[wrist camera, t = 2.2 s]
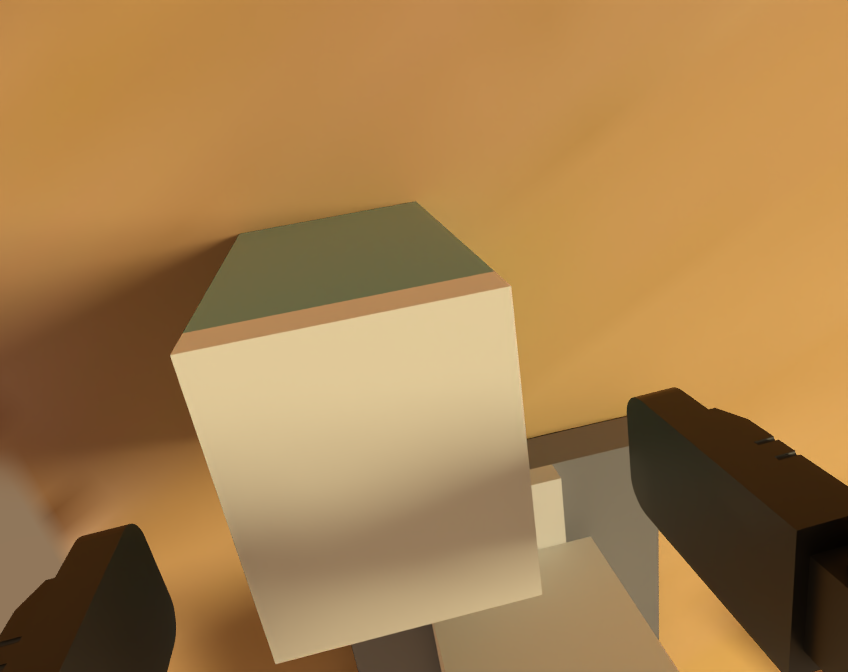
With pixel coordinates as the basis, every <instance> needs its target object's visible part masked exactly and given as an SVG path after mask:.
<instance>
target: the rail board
mask: <svg viewBox="0 0 848 672" xmlns="http://www.w3.org/2000/svg"><path fill="white" fill-rule="evenodd" d="M527 448H528V458H529V468H530V478H531V488H532V498H533V508H534V518H535V528H536V537H537V547H538V557H539V567H540V577H541V587H542V595H539V596H535V597H531V598H528V599H524V600H520V601H516V602H512V603H508V604H505V605H501V606H497V607H493V608H489V609H485V610H482V611H478V612H474V613H470V614H466V615H462V616H459V617H455V618H451V619H447V620H443V621H439V622H436V623H432V624H428V625H424V626H420V627H416V628H413V629H409V630H405V631H401V632H397V633H393V634H390V635H386V636H382V637H378V638H374V639H370V640H367V641H363V642H359V643H355V644H351V646H352V649H353V653H354V657H355V661H356V664H357V668H358V672H679V671H678V669H677V668H676V666H675V665H674V663H673V662H672V660H671V659H670V657H669V656H668V654H667V652H666V651H665V649H664V648H663V646H662V645H661V643H660V642H659V576H658V528H657V527H656V526H655V525H654V523H653V522H652V521H651V520H650V519H649V518H648V516H647V515H646V514H645V513H644V511H643V510H642V508H641V506H640V504H639V502H638V500H637V498H636V495H635V493H634V490H633V486H632V481H631V472H630V456H629V440H628V424H627V416H626V417H622V418H618V419H613V420H609V421H605V422H600V423H596V424H592V425H587V426H583V427H579V428H574V429H570V430H566V431H561V432H557V433H553V434H548V435H544V436H540V437H536V438H531V439H527Z"/></svg>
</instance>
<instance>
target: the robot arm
mask: <svg viewBox="0 0 848 672" xmlns="http://www.w3.org/2000/svg"><path fill="white" fill-rule="evenodd" d="M627 424H628V440H629V456H630V472H631V481H632V486H633V490H634V493H635V495H636V498H637V500H638V502H639V504H640V506H641V508H642V510H643V511H644V513H645V514H646V515H647V516H648V518H649V519H650V520H651V521H652V522H653V523H654V525H655V526H656V527H657V528H658V529H659V530H660V532H661V533H662V534H663V535H664V536H665V537H666V539H667V540H668V541H669V542H670V543H671V544H672V545H673V547H674V548H675V549H676V550H677V551H678V552H679V554H680V555H681V556H682V557H683V558H684V559H685V561H686V562H687V563H688V564H689V565H690V566H691V568H692V569H693V570H694V571H695V572H696V573H697V574H698V576H699V577H700V578H701V579H702V580H703V581H704V583H705V584H706V585H707V586H708V587H709V588H710V590H711V591H712V592H713V593H714V594H715V595H716V597H717V598H718V599H719V600H720V601H721V602H722V603H723V605H724V606H725V607H726V608H727V609H728V610H729V612H730V613H731V614H732V615H733V616H734V617H735V619H736V620H737V621H738V622H739V623H740V624H741V626H742V627H743V628H744V629H745V630H746V631H747V633H748V634H749V635H750V636H751V637H752V638H753V639H754V641H755V642H756V643H757V644H758V645H759V646H760V648H761V649H762V650H763V651H764V652H765V653H766V655H767V656H768V657H769V658H770V659H771V660H772V662H773V663H774V664H775V665H776V666H777V667H778V668H779V670H780V671H781V672H814V671H817V670H820V669H821V670H822V671H823V672H848V486H847V485H845V484H844V483H842V482H841V481H839V480H838V479H836V478H835V477H833V476H832V475H830V474H829V473H827V472H826V471H824V470H823V469H821V468H820V467H818V466H817V465H815V464H814V463H812V462H811V461H809V460H808V459H806V458H805V457H803V456H802V455H796V453H795V450H793V449H792V448H790V447H789V446H787V445H786V444H784V443H783V442H781V441H780V440H776V441H775V440H774V436H772V435H771V434H769V433H768V432H766V431H765V430H763V429H762V428H760V427H759V426H757V425H756V424H754V423H753V422H751V421H750V420H748V419H746V418H743V417H740V416H737V415H734V414H731V413H728V412H725V411H723V410H720V409H717V408H713V409H709V410H708V409H707V408H706V407H704V406H703V405H701V404H700V403H699V402H697V401H696V400H694V399H693V398H692V397H690V396H689V395H687V394H686V393H685V392H683V391H682V390H680V389H678V388H669V389H665V390H661V391H657V392H653V393H649V394H645V395H641V396H638V397H634V398H631V399H630V400H629V402H628V405H627ZM175 636H176V619H175V612H174V607H173V603H172V600H171V597H170V595H169V593H168V590H167V588H166V585H165V583H164V581H163V578H162V576H161V574H160V571H159V569H158V567H157V564H156V562H155V560H154V557H153V555H152V553H151V550H150V548H149V546H148V543H147V541H146V539H145V536H144V534H143V532H142V531H141V529H140V528H139V527H138V526H137V525H135V524H128V525H124V526H120V527H116V528H112V529H108V530H104V531H100V532H97V533H93V534H89V535H85V536H81V537H79V538H78V539H77V540H76V542H75V543H74V545H73V547H72V548H71V550H70V552H69V554H68V555H67V557H66V559H65V561H64V563H63V564H62V566H61V568H60V570H59V571H58V574H57V575H56V577H55V578H53V579H49V580H46V581H45V582H44V583H43V584H42V585H40V586H39V588H38V589H37V590H35V592H34V593H32V594H31V595H30V596H29V597H28V598H27V599H26V600H25V601H24V602H23V603H22V604H21V605H20V606H19V607H18V608H17V609H16V610H15V611H14V613H13V615H12V616H11V618H10V620H9V621H8V623H7V624H6V626H5V628H4V630H3V631H2V633H1V634H0V672H167V670H168V666H169V662H170V658H171V655H172V651H173V647H174V642H175Z"/></svg>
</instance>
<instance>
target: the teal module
mask: <svg viewBox="0 0 848 672" xmlns="http://www.w3.org/2000/svg"><path fill="white" fill-rule="evenodd" d="M170 357H171V360H172V363H173V366H174V368H175V371H176V374H177V377H178V380H179V383H180V386H181V389H182V392H183V395H184V398H185V401H186V404H187V407H188V409H189V412H190V415H191V418H192V421H193V424H194V427H195V430H196V433H197V436H198V439H199V442H200V445H201V448H202V450H203V453H204V456H205V459H206V462H207V465H208V468H209V471H210V474H211V477H212V480H213V483H214V486H215V489H216V491H217V494H218V497H219V500H220V503H221V506H222V509H223V512H224V515H225V518H226V521H227V524H228V527H229V529H230V532H231V535H232V538H233V541H234V544H235V547H236V550H237V553H238V556H239V559H240V562H241V565H242V568H243V570H244V573H245V576H246V579H247V582H248V585H249V588H250V591H251V594H252V597H253V600H254V603H255V606H256V609H257V611H258V614H259V617H260V620H261V623H262V626H263V629H264V632H265V635H266V638H267V641H268V644H269V647H270V649H271V652H272V655H273V658H274V661H275V664H278V663H282V662H286V661H290V660H294V659H298V658H301V657H305V656H309V655H313V654H317V653H321V652H324V651H328V650H332V649H336V648H340V647H344V646H347V645H351V644H355V643H359V642H363V641H367V640H370V639H374V638H378V637H382V636H386V635H390V634H393V633H397V632H401V631H405V630H409V629H413V628H416V627H420V626H424V625H428V624H432V623H436V622H439V621H443V620H447V619H451V618H455V617H459V616H462V615H466V614H470V613H474V612H478V611H482V610H485V609H489V608H493V607H497V606H501V605H505V604H508V603H512V602H516V601H520V600H524V599H528V598H531V597H535V596H539V595H542V587H541V577H540V567H539V557H538V547H537V537H536V528H535V518H534V508H533V498H532V488H531V478H530V468H529V458H528V448H527V439H526V429H525V419H524V409H523V399H522V389H521V379H520V369H519V359H518V350H517V340H516V330H515V320H514V310H513V300H512V290H511V286H510V285H509V284H508V283H507V282H506V281H505V280H504V279H503V278H501V277H500V276H499V275H498V274H497V273H496V272H495V271H494V270H492V269H491V268H490V267H489V266H488V265H487V264H486V263H485V262H483V261H482V260H481V259H480V258H479V257H478V256H477V255H475V254H474V253H473V252H472V251H471V250H470V249H469V248H468V247H466V246H465V245H464V244H463V243H462V242H461V241H460V240H459V239H457V238H456V237H455V236H454V235H453V234H452V233H451V232H450V231H448V230H447V229H446V228H445V227H444V226H443V225H442V224H441V223H439V222H438V221H437V220H436V219H435V218H434V217H433V216H432V215H430V214H429V213H428V212H427V211H426V210H425V209H424V208H423V207H421V206H420V205H419V204H418V203H417V202H410V203H405V204H399V205H394V206H388V207H383V208H377V209H372V210H367V211H361V212H356V213H350V214H345V215H339V216H334V217H328V218H323V219H318V220H312V221H307V222H301V223H296V224H290V225H285V226H279V227H274V228H269V229H263V230H258V231H252V232H247V233H241V234H239V236H238V237H237V239H236V241H235V243H234V244H233V246H232V248H231V250H230V251H229V253H228V255H227V257H226V258H225V260H224V262H223V264H222V265H221V267H220V269H219V271H218V272H217V274H216V276H215V278H214V279H213V281H212V283H211V285H210V286H209V288H208V290H207V292H206V293H205V295H204V297H203V298H202V300H201V302H200V304H199V305H198V307H197V309H196V311H195V312H194V314H193V316H192V318H191V319H190V321H189V323H188V325H187V326H186V328H185V330H184V332H183V333H182V335H181V337H180V339H179V340H178V342H177V344H176V346H175V347H174V349H173V351H172V353H171V354H170Z"/></svg>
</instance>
